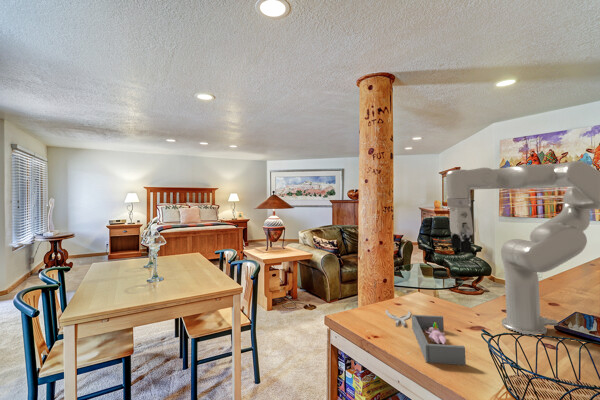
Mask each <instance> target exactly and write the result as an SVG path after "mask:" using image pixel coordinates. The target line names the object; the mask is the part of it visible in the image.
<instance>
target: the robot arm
mask: <svg viewBox="0 0 600 400" xmlns="http://www.w3.org/2000/svg"><path fill="white" fill-rule="evenodd" d="M445 182H446V183H445V185H446V203H447V206H446V207H447V209H449V230H450V238H451V240H450V241H451V242H450V243H451V244H450V245H451V248H452V249H460V250H459V251H460V253H462V254H471V253H472V235H473V234H474V227H473V219H472V211H471V207H472V200H471V191H472V190H495V189H496V190H497V189H501V190H502V189H503V190H527V189H530V190H531V189H552V188H553V189H554V188H555V189H556V188H568V189H567V190H566V191H565V192H564V194H563V197H562V203H563V204H562V208H561V209H562V210H561V211H560V212H559V213H558V214H557V215H555V216H554V217H552V218H550V219H549V220H547V221H545V222H544V223H541V224H540V225H538V226H537V227H535V228H534V229H533V230H532V231H531V232H530V234H529V240H526V239H522V238H521V239H520V238H513V239H510V240H507V241H505V242H504V243H503V244H502V246H501V248H500V249H501V250H500V256H501V261H502V265H503V270H504V286H505V287H504V288H505V305H506V306H505V308H506V309H505V310H506V311H505V312H506V313H505V314H506V317H504V318H503V319H502V320H501V325H502V326H503V327H504V328H505V329H507V330H509V329H510V330H509V331H511V330H513V331H512V332H514V331H516V332H515V333H517V332H519V333H518V334H521V333H522V335H525V334H534V335H535V334H544V335H546V334H547V333H548V330H547V326H558V321H557V319H548V317H546V316H545V317H544V316H541V303H540V302H541V301H540V280H539V275H538V273H546V272H549V271H551V270H554V269H555V268H558V267H559V266H561V265H563V264H564V263H567V262H568V261H570V260H572V259H573V258H575V257H577V256H578V255H580V254H581V253H582V252H583V251H584V250H585V248H586V246H587V244H588V243H587V242H588V240H587V239H588V238H587V236H586V233H585V231H586V229H588V228H589V225H590V221H591V219H590V217H591V215H590V210H600V171H599V170H598V169H597V168H595V167H594V166H592V165H591V164H588V163H586V162H583V161H581V160H580V161H579V160H573V161H566V162H560V163H548V164H547V163H546V164H544V163H543V164H521V165H514V166H513V165H512V166H509V167H503V168H494V169H492V168H489V167H478V168H471V169H453V170H448V171H447V172H446V174H445Z"/></svg>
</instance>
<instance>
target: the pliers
mask: <svg viewBox="0 0 600 400" xmlns="http://www.w3.org/2000/svg"><path fill="white" fill-rule="evenodd" d="M385 315H386V316H387V317H388V318H390V319H392V320H394V321H395V327H398V326H399V325H400V324H401V325H402V326H403V328H405V327H406V320H409V319H410V318H411V317H412V313H411V312H410V310H407V314H406V315H405V314H403V315H400V316H398V315H395V314H391V313H390V312H389V311H388V309H385Z"/></svg>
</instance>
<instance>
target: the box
mask: <svg viewBox="0 0 600 400" xmlns="http://www.w3.org/2000/svg"><path fill="white" fill-rule="evenodd" d="M434 322H435V323H436V324H437V326H438V329H439V331H440V332H444V331H445V326H444V316H442V315H428V314H427V315H422V314H411V326H412V327H411V329H412V332H413V334H414V336H415V338H416V341H417V343H418V345H419V348H420V350H421V353H422V356H423V358H424V360H425V363H428V364H429V363H430V364H441V365H442V364H444V365H455V366H456V365H458V366H466V365H467V364H466V362H467V361H466V360H467V359H466V347H465V346H464V345H458V344H457V345H455V344H454V345H453V344H444V345H443V344H440V343H439V344H437V343H436V344H435V343H429V342H428V340H427V338H426V336H425V334H424V332H423V331H428V329H429V327H430V328H431V327H433V325H434Z"/></svg>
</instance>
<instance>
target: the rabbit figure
mask: <svg viewBox="0 0 600 400" xmlns="http://www.w3.org/2000/svg"><path fill="white" fill-rule="evenodd" d="M424 333H426V334H428V338H429V339H430V340H431V341H433V342H434V343H436V344H440V343H441V345H446V343H447V337H446V336H445V335H446V333H445V332H442V331H439V329H438V326H437V324H436V323H435V322H434V325H433V327H431V328H430V327H429V329H428V330H424Z"/></svg>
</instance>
